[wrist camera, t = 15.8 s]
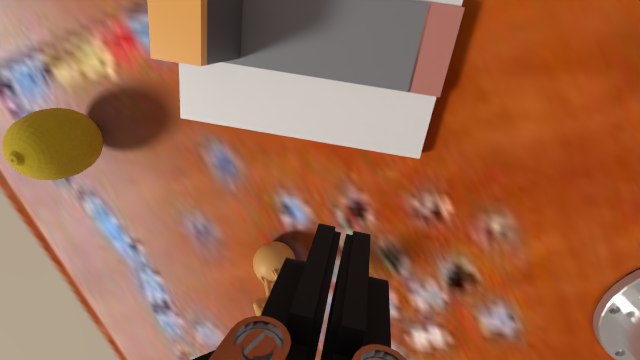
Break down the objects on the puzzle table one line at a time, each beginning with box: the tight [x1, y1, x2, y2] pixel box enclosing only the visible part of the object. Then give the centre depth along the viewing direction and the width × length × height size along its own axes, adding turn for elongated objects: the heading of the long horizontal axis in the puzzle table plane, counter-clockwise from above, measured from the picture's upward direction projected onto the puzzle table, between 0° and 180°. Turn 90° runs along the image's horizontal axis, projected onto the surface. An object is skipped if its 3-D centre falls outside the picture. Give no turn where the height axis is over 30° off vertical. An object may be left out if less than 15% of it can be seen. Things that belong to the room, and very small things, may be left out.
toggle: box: [148, 0, 243, 66], centre depth 22 cm, size 3×5×7 cm, turn 172°
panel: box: [179, 0, 465, 159], centre depth 25 cm, size 20×16×1 cm
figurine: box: [253, 241, 295, 316], centre depth 29 cm, size 8×6×12 cm
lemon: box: [3, 108, 103, 180], centre depth 28 cm, size 6×6×8 cm
